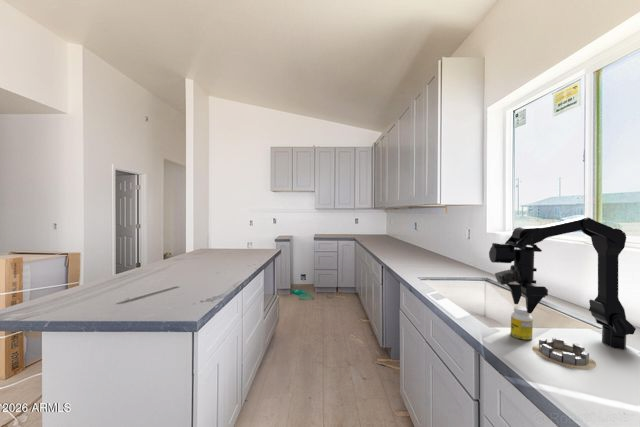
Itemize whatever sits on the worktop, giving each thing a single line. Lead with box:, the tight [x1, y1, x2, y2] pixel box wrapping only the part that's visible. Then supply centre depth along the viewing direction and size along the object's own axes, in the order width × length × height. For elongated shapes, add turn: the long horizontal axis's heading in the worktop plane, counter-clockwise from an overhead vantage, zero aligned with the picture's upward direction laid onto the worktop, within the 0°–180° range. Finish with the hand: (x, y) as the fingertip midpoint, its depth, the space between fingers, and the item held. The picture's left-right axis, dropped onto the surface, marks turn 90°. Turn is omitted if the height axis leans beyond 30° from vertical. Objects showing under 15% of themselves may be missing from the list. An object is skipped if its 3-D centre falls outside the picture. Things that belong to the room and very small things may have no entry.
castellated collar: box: [538, 337, 590, 366], centre depth 89 cm, size 11×11×3 cm
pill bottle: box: [510, 305, 534, 342], centre depth 102 cm, size 6×6×11 cm
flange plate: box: [532, 343, 597, 370], centre depth 89 cm, size 15×15×1 cm
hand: (522, 308), depth 102 cm, fingers open, 9 cm apart
